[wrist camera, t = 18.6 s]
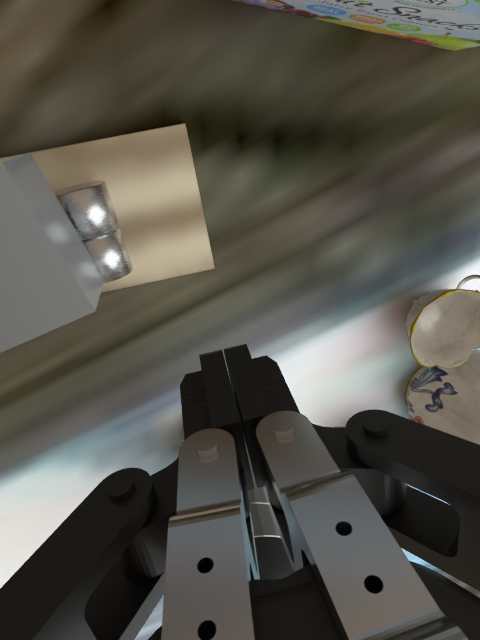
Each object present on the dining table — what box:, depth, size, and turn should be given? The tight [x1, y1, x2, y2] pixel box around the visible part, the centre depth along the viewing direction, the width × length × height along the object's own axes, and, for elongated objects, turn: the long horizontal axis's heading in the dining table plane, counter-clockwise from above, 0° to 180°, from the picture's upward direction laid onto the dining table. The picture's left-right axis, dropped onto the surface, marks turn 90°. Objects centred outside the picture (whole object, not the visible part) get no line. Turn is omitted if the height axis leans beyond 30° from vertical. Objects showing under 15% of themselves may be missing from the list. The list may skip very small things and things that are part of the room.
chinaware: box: [405, 275, 480, 485], centre depth 44 cm, size 28×17×17 cm, turn 170°
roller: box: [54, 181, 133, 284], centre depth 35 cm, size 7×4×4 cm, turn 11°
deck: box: [0, 123, 214, 293], centre depth 33 cm, size 12×28×9 cm, turn 99°
